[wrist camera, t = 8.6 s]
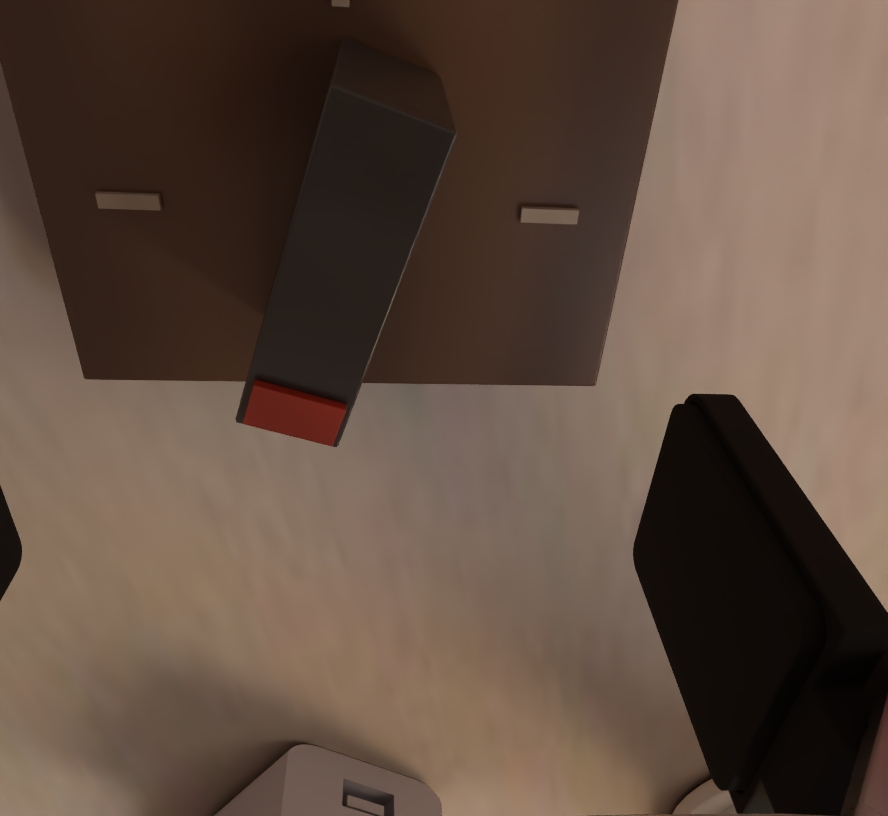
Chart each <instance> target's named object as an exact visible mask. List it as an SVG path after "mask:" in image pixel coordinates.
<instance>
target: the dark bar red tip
mask: <svg viewBox="0 0 888 816" xmlns="http://www.w3.org/2000/svg"><path fill="white" fill-rule="evenodd" d="M456 138H457V130H456V127H455V123H454V120H453V117H452V113H451V110H450V107H449V103H448V100H447V97H446V93H445V90H444V87H443V83H442V80H441V77H440V76H439V75H437V74H435V73H432V72H430V71H427V70H425V69H422V68H420V67H417V66H415V65H413V64H410V63H408V62H405V61H403V60H400V59H398V58H395V57H393V56H390V55H388V54H385V53H383V52H380V51H378V50H376V49H373V48H371V47H368V46H366V45H363V44H361V43H358V42H356V41H353V40H351V39H348V38H346V37H343V38H342V39H341V43H340V47H339V50H338V54H337V57H336V61H335V64H334V68H333V72H332V75H331V79H330V82H329V86H328V89H327V93H326V97H325V100H324V104H323V107H322V111H321V114H320V118H319V122H318V125H317V129H316V132H315V136H314V140H313V143H312V147H311V150H310V154H309V157H308V161H307V165H306V168H305V172H304V175H303V179H302V182H301V186H300V190H299V193H298V197H297V200H296V204H295V207H294V211H293V215H292V218H291V222H290V225H289V229H288V232H287V236H286V240H285V243H284V247H283V250H282V254H281V258H280V261H279V265H278V268H277V272H276V275H275V279H274V283H273V286H272V290H271V293H270V297H269V300H268V304H267V308H266V311H265V315H264V318H263V322H262V326H261V329H260V333H259V336H258V340H257V344H256V347H255V351H254V354H253V358H252V362H251V365H250V369H249V372H248V376H247V380H246V383H245V387H244V390H243V394H242V398H241V401H240V405H239V408H238V412H237V416H236V422H238V423H242V424H246V425H250V426H253V427H257V428H261V429H265V430H269V431H273V432H277V433H281V434H285V435H289V436H293V437H297V438H301V439H305V440H309V441H313V442H317V443H321V444H324V445H328V446H333V447H337V446H338V445H339V442H340V440H341V437H342V434H343V432H344V429H345V427H346V424H347V421H348V419H349V416H350V414H351V411H352V408H353V406H354V403H355V400H356V398H357V395H358V393H359V390H360V387H361V385H362V382H363V380H364V377H365V374H366V372H367V369H368V367H369V364H370V361H371V359H372V356H373V354H374V351H375V348H376V346H377V343H378V341H379V338H380V335H381V333H382V330H383V328H384V325H385V322H386V320H387V317H388V315H389V312H390V309H391V307H392V304H393V302H394V299H395V296H396V294H397V291H398V289H399V286H400V283H401V281H402V278H403V276H404V273H405V270H406V268H407V265H408V263H409V260H410V257H411V255H412V252H413V250H414V247H415V244H416V242H417V239H418V237H419V234H420V231H421V229H422V226H423V224H424V221H425V218H426V216H427V213H428V211H429V208H430V205H431V203H432V200H433V198H434V195H435V192H436V190H437V187H438V185H439V182H440V179H441V177H442V174H443V172H444V169H445V166H446V164H447V161H448V159H449V156H450V153H451V151H452V148H453V146H454V143H455V140H456Z"/></svg>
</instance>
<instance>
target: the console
mask: <svg viewBox="0 0 888 816" xmlns="http://www.w3.org/2000/svg"><path fill="white" fill-rule="evenodd" d="M677 4H678V0H0V61H1V65H2V69H3V73H4V77H5V80H6V84H7V88H8V92H9V95H10V99H11V103H12V107H13V111H14V114H15V118H16V122H17V126H18V129H19V133H20V137H21V141H22V145H23V148H24V152H25V156H26V160H27V163H28V167H29V171H30V175H31V179H32V182H33V186H34V190H35V194H36V197H37V201H38V205H39V209H40V213H41V216H42V220H43V224H44V228H45V232H46V235H47V239H48V243H49V247H50V250H51V254H52V258H53V262H54V266H55V269H56V273H57V277H58V281H59V284H60V288H61V292H62V296H63V300H64V303H65V307H66V311H67V315H68V318H69V322H70V326H71V330H72V334H73V337H74V341H75V345H76V349H77V352H78V356H79V360H80V364H81V368H82V371H83V375H84V378H85V379H101V380H177V381H246V380H247V376H248V372H249V369H250V365H251V362H252V358H253V354H254V351H255V347H256V344H257V340H258V336H259V333H260V329H261V326H262V322H263V318H264V315H265V311H266V308H267V304H268V300H269V297H270V293H271V290H272V286H273V283H274V279H275V275H276V272H277V268H278V265H279V261H280V258H281V254H282V250H283V247H284V243H285V240H286V236H287V232H288V229H289V225H290V222H291V218H292V215H293V211H294V207H295V204H296V200H297V197H298V193H299V190H300V186H301V182H302V179H303V175H304V172H305V168H306V165H307V161H308V157H309V154H310V150H311V147H312V143H313V140H314V136H315V132H316V129H317V125H318V122H319V118H320V114H321V111H322V107H323V104H324V100H325V97H326V93H327V89H328V86H329V82H330V79H331V75H332V72H333V68H334V64H335V61H336V57H337V54H338V50H339V47H340V43H341V39H342V38H343V37H346V38H348V39H351V40H353V41H356V42H358V43H361V44H363V45H366V46H368V47H371V48H373V49H376V50H378V51H380V52H383V53H385V54H388V55H390V56H393V57H395V58H398V59H400V60H403V61H405V62H408V63H410V64H413V65H415V66H417V67H420V68H422V69H425V70H427V71H430V72H432V73H435V74H437V75H439V76H440V77H441V80H442V83H443V87H444V90H445V93H446V97H447V100H448V103H449V107H450V110H451V113H452V117H453V120H454V123H455V127H456V130H457V138H456V140H455V143H454V146H453V148H452V151H451V153H450V156H449V159H448V161H447V164H446V166H445V169H444V172H443V174H442V177H441V179H440V182H439V185H438V187H437V190H436V192H435V195H434V198H433V200H432V203H431V205H430V208H429V211H428V213H427V216H426V218H425V221H424V224H423V226H422V229H421V231H420V234H419V237H418V239H417V242H416V244H415V247H414V250H413V252H412V255H411V257H410V260H409V263H408V265H407V268H406V270H405V273H404V276H403V278H402V281H401V283H400V286H399V289H398V291H397V294H396V296H395V299H394V302H393V304H392V307H391V309H390V312H389V315H388V317H387V320H386V322H385V325H384V328H383V330H382V333H381V335H380V338H379V341H378V343H377V346H376V348H375V351H374V354H373V356H372V359H371V361H370V364H369V367H368V369H367V372H366V374H365V377H364V380H363V382H362V383H405V384H481V385H557V386H595V385H596V381H597V377H598V372H599V368H600V363H601V358H602V354H603V349H604V344H605V340H606V335H607V330H608V326H609V321H610V316H611V312H612V307H613V302H614V298H615V293H616V288H617V284H618V279H619V274H620V270H621V265H622V260H623V256H624V251H625V246H626V242H627V237H628V232H629V228H630V223H631V218H632V214H633V209H634V204H635V200H636V195H637V190H638V186H639V181H640V177H641V172H642V167H643V163H644V158H645V153H646V149H647V144H648V139H649V135H650V130H651V125H652V121H653V116H654V111H655V107H656V102H657V97H658V93H659V88H660V83H661V79H662V74H663V69H664V65H665V60H666V55H667V51H668V46H669V41H670V37H671V32H672V27H673V23H674V18H675V13H676V9H677ZM354 404H355V403H354Z"/></svg>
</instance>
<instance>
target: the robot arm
mask: <svg viewBox="0 0 888 816" xmlns="http://www.w3.org/2000/svg"><path fill="white" fill-rule="evenodd" d="M21 557H22V545H21V541H20V538H19V535H18V532H17V530H16V527H15V524H14V522H13V519H12V516H11V513H10V511H9V508H8V505H7V502H6V500H5V497H4V494H3V491H2V489H1V486H0V600H1V599H2V597H3V595H4V593H5V592H6V590H7V588H8V586H9V584H10V583H11V581H12V579H13V577H14V576H15V574H16V572H17V570H18V568H19V566H20V562H21ZM633 559H634V565H635V569H636V572H637V575H638V577H639V580H640V583H641V586H642V588H643V591H644V594H645V597H646V599H647V602H648V605H649V608H650V610H651V613H652V616H653V619H654V621H655V624H656V627H657V630H658V632H659V635H660V638H661V640H662V643H663V646H664V649H665V651H666V654H667V657H668V660H669V662H670V665H671V668H672V671H673V673H674V676H675V679H676V682H677V684H678V687H679V690H680V693H681V695H682V698H683V701H684V703H685V706H686V709H687V712H688V714H689V717H690V720H691V723H692V725H693V728H694V731H695V734H696V736H697V739H698V742H699V745H700V747H701V750H702V753H703V755H704V758H705V761H706V764H707V766H708V769H709V772H710V775H711V777H712V779H710V780H708V781H707V782H705V783H703V784H701V785H700V786H698V787H697V788H696V789H695V790H693V791H692V792H691V793H689V794H688V795H687V796H686V797H685V798H684V799H683V800H682V801H681V802H680V803H679V804H678V805H677V807H676V808H675V810H674V812H673V814H632V815H589V816H888V613H887V611H886V610H885V608H884V607H883V605H882V604H881V603H880V601H879V600H878V598H877V597H876V595H875V594H874V593H873V591H872V590H871V588H870V587H869V585H868V584H867V583H866V581H865V580H864V578H863V577H862V575H861V574H860V573H859V571H858V570H857V568H856V567H855V565H854V564H853V563H852V561H851V560H850V558H849V557H848V555H847V554H846V553H845V551H844V550H843V548H842V547H841V545H840V544H839V542H838V541H837V540H836V538H835V537H834V535H833V534H832V532H831V531H830V530H829V528H828V527H827V525H826V524H825V522H824V521H823V520H822V518H821V517H820V515H819V514H818V512H817V511H816V510H815V508H814V507H813V505H812V504H811V502H810V501H809V500H808V498H807V497H806V495H805V494H804V492H803V491H802V490H801V488H800V487H799V485H798V484H797V482H796V481H795V480H794V478H793V477H792V475H791V474H790V472H789V471H788V470H787V468H786V467H785V465H784V464H783V462H782V461H781V460H780V458H779V457H778V455H777V454H776V452H775V451H774V450H773V448H772V447H771V445H770V444H769V442H768V441H767V440H766V438H765V437H764V435H763V434H762V432H761V431H760V429H759V428H758V427H757V425H756V424H755V422H754V421H753V419H752V418H751V417H750V415H749V414H748V412H747V411H746V409H745V408H744V407H743V405H742V404H741V402H740V401H739V400H738V399H737V398H736V397H735V396H734V395H728V394H692V395H690V396H688V398H687V399H686V400H685V403H684V404H677V405H675V406H674V408H673V409H672V412H671V415H670V418H669V422H668V425H667V429H666V432H665V436H664V440H663V443H662V447H661V450H660V454H659V457H658V461H657V464H656V468H655V471H654V475H653V478H652V482H651V485H650V489H649V492H648V496H647V499H646V503H645V506H644V510H643V514H642V517H641V521H640V524H639V528H638V531H637V535H636V538H635V542H634V548H633Z"/></svg>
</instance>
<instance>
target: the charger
mask: <svg viewBox="0 0 888 816" xmlns="http://www.w3.org/2000/svg"><path fill="white" fill-rule="evenodd" d="M214 816H442V807H441V802H440V799H439V797H438V796H437V794H436V793H435V792H434V791H433V790H432V789H431V788H430V787H428V786H427V785H425V784H423V783H422V782H419V781H417V780H415V779H412V778H409V777H406V776H403V775H400V774H397V773H395V772H392V771H389V770H386V769H383V768H380V767H377V766H374V765H371V764H368V763H365V762H362V761H359V760H356V759H354V758H351V757H348V756H345V755H342V754H339V753H336V752H333V751H330V750H327V749H324V748H321V747H318V746H314V745H305V744H302V745H297V746H294V747H293V748H291V749H290V750H289V751H287V752H286V753H285V754H284V755H283V756H282V757H281V758H279V759H278V760H277V761H276V762H275V763H274V764H273V765H271V766H270V767H269V768H268V769H267V770H266V771H265V772H263V773H262V774H261V775H260V776H259V777H258V778H257V779H255V780H254V781H253V782H252V783H251V784H250V785H249V786H247V787H246V788H245V789H244V790H243V791H242V792H241V793H239V794H238V795H237V796H236V797H235V798H234V799H233V800H231V801H230V802H229V803H228V804H227V805H226V806H225V807H223V808H222V809H221V810H220V811H219V812H218V813H217V814H215V815H214Z"/></svg>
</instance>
